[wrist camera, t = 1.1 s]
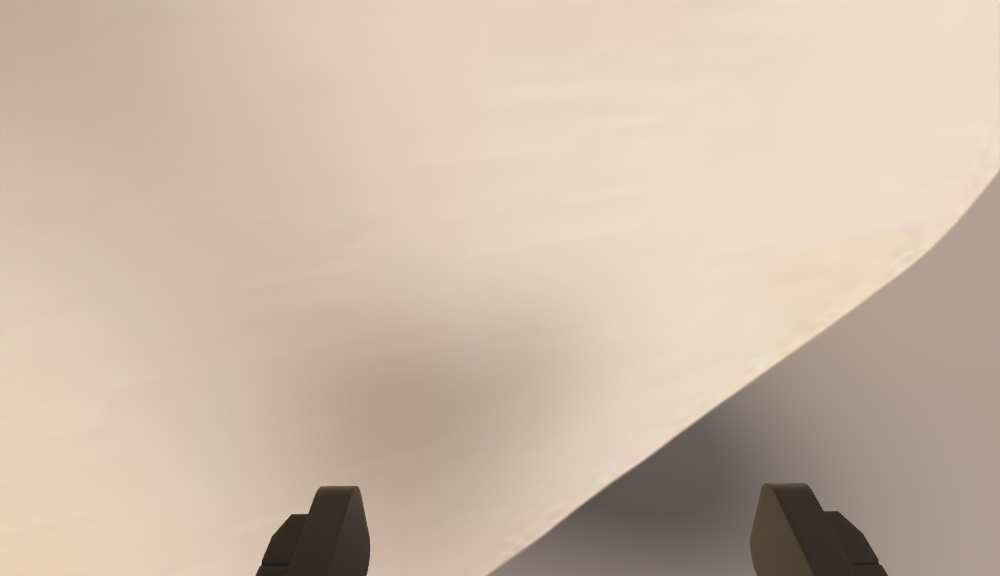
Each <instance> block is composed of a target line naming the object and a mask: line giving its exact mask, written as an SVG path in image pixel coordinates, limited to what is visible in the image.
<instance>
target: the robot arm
mask: <svg viewBox="0 0 1000 576" xmlns="http://www.w3.org/2000/svg"><path fill="white" fill-rule="evenodd" d="M750 548H751V556H752V561H753V565H754V568H755V571H756V574H757V576H888V575H887V573H886V572H885V570H884V568H883V567H882V565H879V563H878V558H877V557H876V555H875V554H874V552H873V550H872V548H871V547H870V545H869V543H868V542H867V540H866V538H865V537H864V535H863V534H862V533H861V532H860V531H859V530H858V529H857V528H856V527H855V526H854V525H853V524H851V523H850V522H849V521H848V520H847V519H846V518H845V517H844V516H843V515H842V514H841V513H839V512H837V511H834V512H833V511H830V512H824V511H823V510H822V508H821V506H820V504H819V502H818V500H817V499H816V497H815V495H814V493H813V492H812V490H811V488H810V487H809V486H808V485H807V484H805V483H771V484H770V483H766V484H764V485H763V486H762V489H761V492H760V497H759V501H758V506H757V510H756V514H755V519H754V523H753V527H752V532H751V537H750ZM369 558H370V537H369V532H368V527H367V522H366V517H365V512H364V507H363V502H362V497H361V493H360V489H359V487H358V486H322V487H320V488H319V489H318V490H317V492H316V495H315V497H314V500H313V503H312V505H311V508H310V511H309V513H308V514H292V515H291V516H290V517H289V518H288V519H287V520H286V521H285V523H284V524H283V525H282V526H281V527H280V528H279V529H278V530H277V532H276V533H275V534H274V535H273V536H272V538H271V540H270V543H269V545H268V548H267V550H266V552H265V555H264V557H263V560H262V565H261V566H260V567H259V569H258V571H257V574H256V576H366V575H367V571H368V566H369Z"/></svg>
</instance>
